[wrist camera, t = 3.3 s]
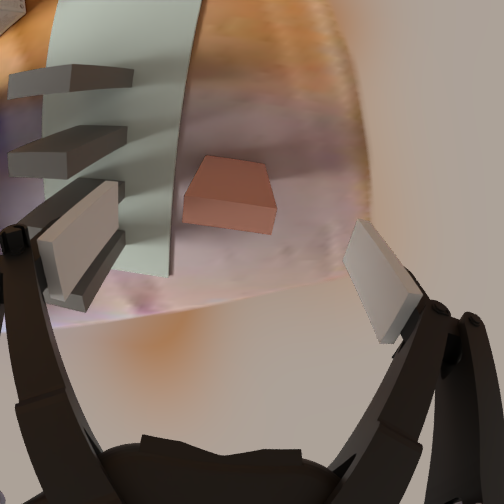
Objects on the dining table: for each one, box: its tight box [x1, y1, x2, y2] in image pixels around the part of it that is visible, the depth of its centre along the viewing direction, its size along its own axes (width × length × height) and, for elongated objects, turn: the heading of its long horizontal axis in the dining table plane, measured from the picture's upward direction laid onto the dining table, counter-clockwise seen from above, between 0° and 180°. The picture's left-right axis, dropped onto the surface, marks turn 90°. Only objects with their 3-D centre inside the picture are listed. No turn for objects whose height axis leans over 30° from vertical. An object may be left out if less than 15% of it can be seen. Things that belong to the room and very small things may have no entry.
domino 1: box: [7, 64, 134, 100], centre depth 15 cm, size 2×5×10 cm, turn 80°
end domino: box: [182, 155, 277, 235], centre depth 20 cm, size 2×5×10 cm, turn 80°
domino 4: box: [43, 230, 126, 313], centre depth 23 cm, size 2×5×10 cm, turn 80°
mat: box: [42, 0, 202, 278], centre depth 22 cm, size 30×14×1 cm, turn 170°
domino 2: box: [7, 125, 128, 180], centre depth 18 cm, size 2×5×10 cm, turn 80°
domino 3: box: [17, 177, 125, 240], centre depth 20 cm, size 2×5×10 cm, turn 80°
